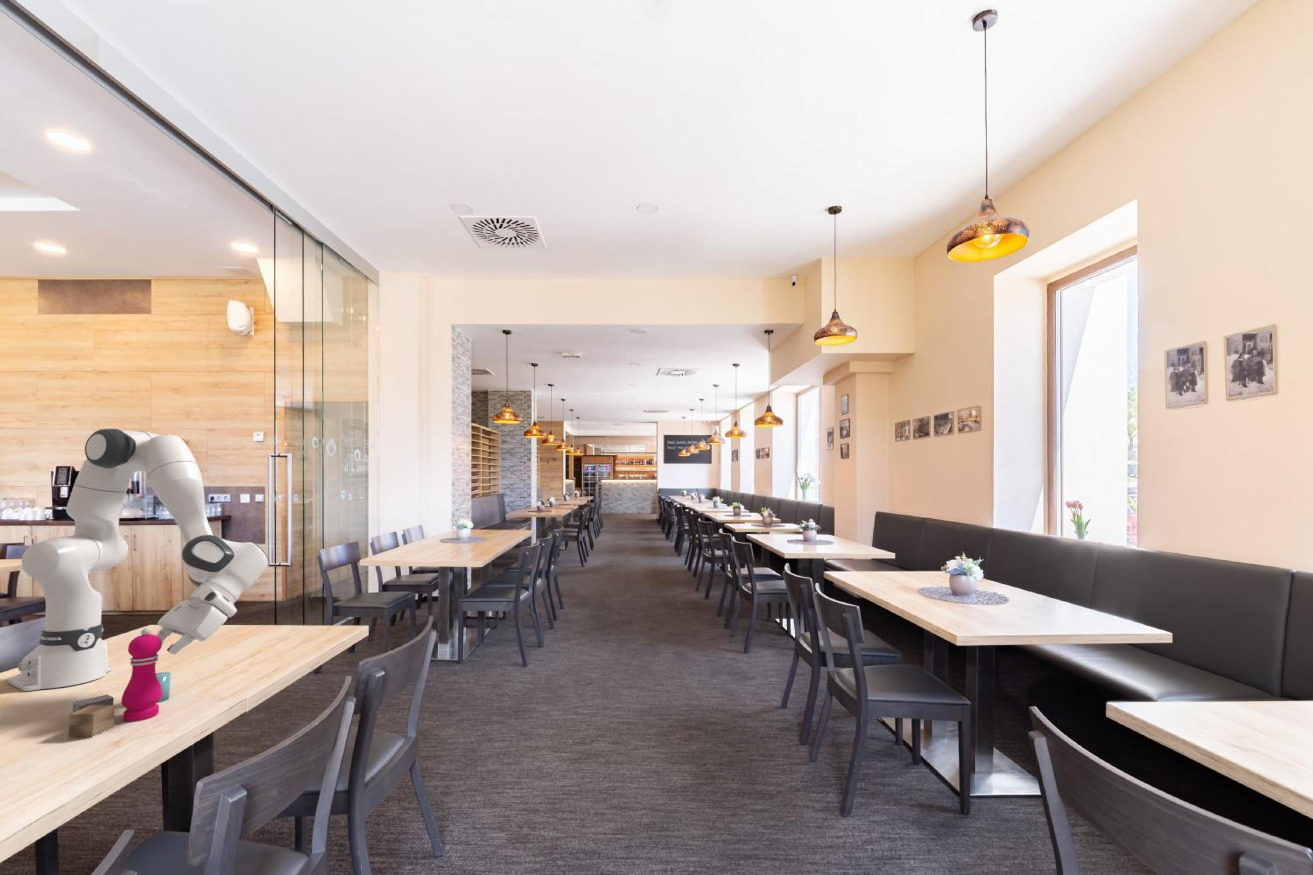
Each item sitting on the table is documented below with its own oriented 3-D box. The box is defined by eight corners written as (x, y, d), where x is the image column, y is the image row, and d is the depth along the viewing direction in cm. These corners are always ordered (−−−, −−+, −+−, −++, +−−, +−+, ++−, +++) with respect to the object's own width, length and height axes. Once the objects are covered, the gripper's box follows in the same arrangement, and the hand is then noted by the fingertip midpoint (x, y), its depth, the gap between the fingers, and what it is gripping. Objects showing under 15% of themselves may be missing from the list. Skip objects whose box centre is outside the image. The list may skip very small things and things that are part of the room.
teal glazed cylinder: (138, 702, 148) (139, 677, 148) (160, 695, 152) (161, 671, 153) (151, 704, 146) (153, 679, 146) (174, 697, 151) (175, 673, 151)
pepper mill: (168, 712, 141) (173, 625, 142) (133, 724, 134) (138, 632, 136) (148, 708, 144) (153, 623, 145) (112, 720, 137) (118, 630, 138)
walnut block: (68, 738, 127) (69, 713, 128) (90, 728, 132) (91, 705, 133) (92, 738, 128) (93, 713, 128) (113, 728, 132) (114, 704, 133)
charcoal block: (71, 720, 137) (72, 702, 137) (105, 711, 142) (107, 694, 142) (77, 724, 135) (79, 705, 135) (112, 715, 140) (113, 697, 140)
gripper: (182, 589, 155) (132, 636, 146) (220, 597, 145) (169, 648, 136) (201, 603, 159) (153, 650, 150) (240, 612, 148) (191, 663, 139)
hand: (161, 649), depth 143 cm, fingers open, 8 cm apart
